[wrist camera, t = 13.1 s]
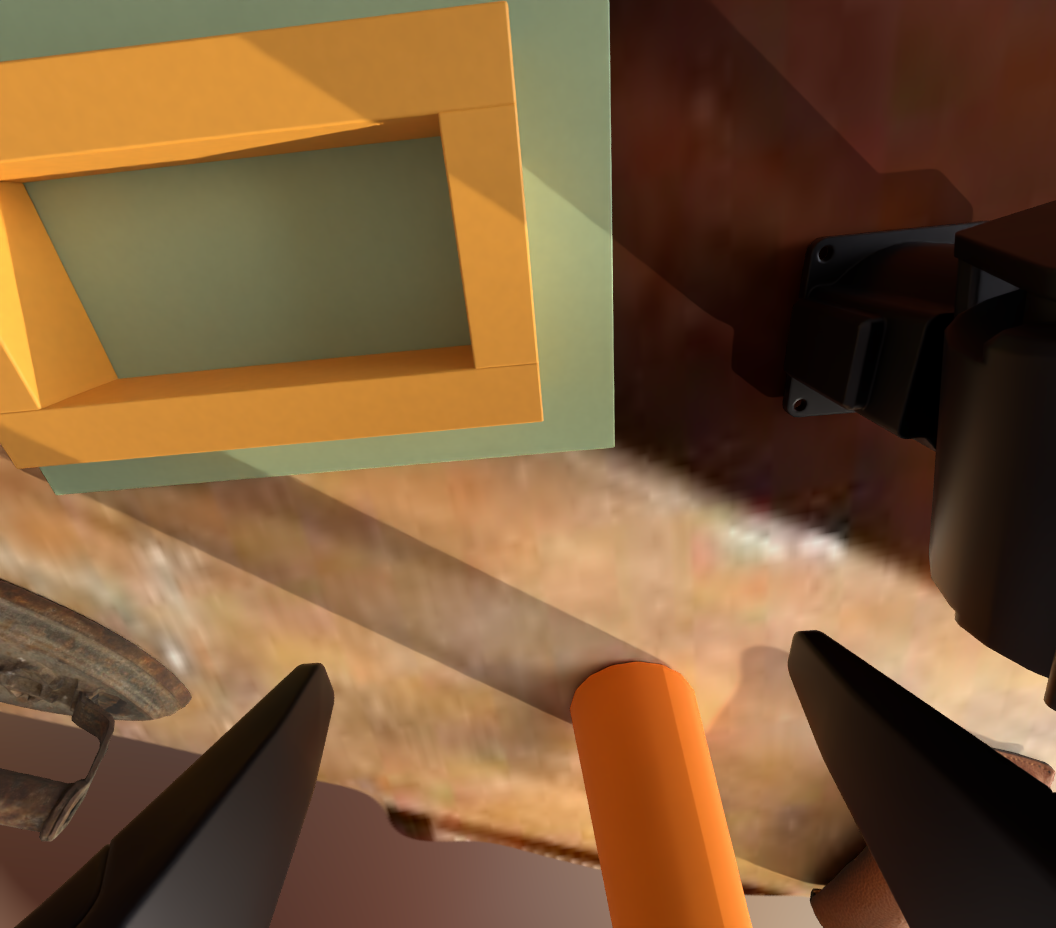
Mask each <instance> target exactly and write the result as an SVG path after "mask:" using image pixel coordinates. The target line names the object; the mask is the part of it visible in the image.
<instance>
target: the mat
mask: <svg viewBox="0 0 1056 928" xmlns="http://www.w3.org/2000/svg"><path fill="white" fill-rule="evenodd" d="M497 1H506V2H507V3H508V8H509V20H510V32H511V43H512V55H513V67H514V79H515V90H516V103H517V114H518V126H519V137H520V149H521V161H522V173H523V185H524V196H525V208H526V220H527V232H528V243H529V255H530V267H531V279H532V290H533V302H534V314H535V326H536V337H537V349H538V361H539V373H540V384H541V396H542V408H543V421H542V422H533V423H522V424H511V425H500V426H489V427H478V428H467V429H455V430H444V431H433V432H422V433H411V434H400V435H389V436H378V437H367V438H356V439H344V440H333V441H322V442H311V443H300V444H289V445H278V446H267V447H256V448H245V449H233V450H222V451H211V452H200V453H189V454H178V455H167V456H156V457H145V458H134V459H122V460H111V461H100V462H89V463H78V464H67V465H56V466H45V467H39V468H40V470H41V471H42V473H43V475H44V476H45V478H46V480H47V481H48V483H49V484H50V486H51V488H52V489H53V491H54V493H55V494H56V495H64V494H75V493H87V492H99V491H110V490H122V489H134V488H145V487H157V486H169V485H180V484H192V483H204V482H215V481H227V480H239V479H250V478H262V477H274V476H285V475H297V474H309V473H320V472H332V471H344V470H355V469H367V468H379V467H390V466H402V465H414V464H425V463H437V462H449V461H460V460H472V459H484V458H495V457H507V456H519V455H530V454H542V453H554V452H566V451H577V450H589V449H601V448H612V447H615V434H614V351H613V269H612V186H611V104H610V21H609V0H0V62H2V61H11V60H19V59H27V58H35V57H43V56H52V55H60V54H68V53H76V52H85V51H93V50H101V49H109V48H118V47H126V46H134V45H142V44H151V43H159V42H167V41H175V40H184V39H192V38H200V37H208V36H216V35H225V34H233V33H241V32H249V31H258V30H266V29H274V28H282V27H291V26H299V25H307V24H315V23H324V22H332V21H340V20H348V19H357V18H365V17H373V16H381V15H389V14H398V13H406V12H414V11H422V10H431V9H439V8H447V7H455V6H464V5H472V4H480V3H488V2H497ZM23 184H24V186H25V188H26V190H27V192H28V194H29V197H30V199H31V201H32V203H33V205H34V207H35V209H36V211H37V213H38V215H39V217H40V219H41V221H42V223H43V225H44V227H45V229H46V231H47V233H48V235H49V237H50V240H51V242H52V244H53V246H54V248H55V250H56V252H57V254H58V256H59V258H60V260H61V262H62V264H63V266H64V268H65V270H66V272H67V274H68V276H69V278H70V281H71V283H72V285H73V287H74V289H75V291H76V293H77V295H78V297H79V299H80V301H81V303H82V305H83V307H84V309H85V311H86V313H87V315H88V317H89V319H90V321H91V324H92V326H93V328H94V330H95V332H96V334H97V336H98V338H99V340H100V342H101V344H102V346H103V348H104V350H105V352H106V354H107V356H108V358H109V360H110V362H111V365H112V367H113V369H114V371H115V373H116V375H117V377H118V379H121V378H131V377H142V376H152V375H162V374H173V373H183V372H193V371H204V370H214V369H225V368H235V367H245V366H256V365H266V364H277V363H287V362H297V361H308V360H318V359H329V358H339V357H349V356H360V355H370V354H381V353H391V352H401V351H412V350H422V349H432V348H443V347H453V346H464V345H471V340H470V333H469V326H468V319H467V313H466V306H465V299H464V292H463V285H462V278H461V272H460V265H459V258H458V251H457V244H456V237H455V230H454V224H453V217H452V210H451V203H450V196H449V189H448V183H447V176H446V169H445V162H444V155H443V148H442V142H441V136H436V137H427V138H419V139H410V140H401V141H392V142H383V143H374V144H365V145H356V146H347V147H338V148H329V149H320V150H311V151H302V152H293V153H285V154H276V155H267V156H258V157H249V158H240V159H231V160H222V161H213V162H204V163H195V164H186V165H177V166H168V167H159V168H150V169H142V170H133V171H124V172H115V173H106V174H97V175H88V176H79V177H70V178H61V179H52V180H43V181H34V182H25V183H23Z"/></svg>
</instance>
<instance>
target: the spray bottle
mask: <svg viewBox="0 0 1056 928" xmlns="http://www.w3.org/2000/svg"><path fill="white" fill-rule="evenodd" d="M570 713H571V718H572V723H573V728H574V733H575V738H576V743H577V748H578V753H579V759H580V764H581V769H582V774H583V779H584V784H585V789H586V794H587V799H588V804H589V809H590V814H591V820H592V825H593V830H594V835H595V840H596V845H597V850H598V855H599V860H600V865H601V870H602V876H603V880H604V885H605V890H606V896H607V901H608V906H609V911H610V916H611V921H612V926H613V928H752V925H751V921H750V917H749V913H748V909H747V905H746V900H745V896H744V892H743V888H742V884H741V880H740V876H739V872H738V868H737V864H736V860H735V856H734V852H733V848H732V843H731V839H730V835H729V831H728V827H727V823H726V819H725V815H724V811H723V807H722V803H721V799H720V795H719V791H718V787H717V782H716V778H715V774H714V770H713V766H712V762H711V758H710V754H709V750H708V746H707V742H706V738H705V734H704V730H703V726H702V722H701V717H700V713H699V709H698V705H697V701H696V697H695V693H694V690H693V689H692V687H691V686H690V685H689V684H688V682H687V681H686V680H685V679H684V677H683V676H682V675H681V674H680V673H678V672H676V671H674V670H672V669H670V668H667V667H665V666H663V665H661V664H654V663H646V662H637V661H636V662H630V663H624V664H617V665H612V666H609V667H607V668H605V669H603V670H601V671H599V672H597V673H595V674H592V675H590V676H589V677H588V678H587V679H586V680H585V681H584V682H583V683H582V684H581V685H580V686H579V687H578V688H577V689H576V691H575V694H574V697H573V700H572V703H571V706H570Z"/></svg>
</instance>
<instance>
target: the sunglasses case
mask: <svg viewBox="0 0 1056 928" xmlns="http://www.w3.org/2000/svg"><path fill="white" fill-rule="evenodd" d="M993 749H994V750H996V751H997V752H998V753H1000V754H1001V755H1003V756H1004V757H1006V758H1007V759H1009V760H1010V761H1012V762H1013V763H1015V764H1016V765H1017V766H1019V767H1020V768H1022V769H1023V770H1025V771H1026V772H1028V773H1029V774H1031V775H1032V776H1034V777H1035V778H1037V779H1038V780H1039V781H1041V782H1042V783H1044V784H1045V785H1047V786H1048V787H1050V786H1051V784H1052V781H1053V780H1054V775H1055V771H1054V770H1053V769H1052V767H1051V766H1050V765H1048V764H1047V763H1045V762H1043V761H1039V760H1036V759H1032V758H1029V757H1026V756H1023V755H1020V754H1016V753H1012V752H1008V751H1004V750H1000V749H995V748H993ZM810 903H811V906H812V908H813V911H814V913H815V916H816V917H817V919H818V921H819V922H820V924H821V925H822V926H823V928H909V926H908V924H907V922H906V920H905V918H904V916H903V914H902V912H901V910H900V908H899V906H898V904H897V902H896V900H895V898H894V896H893V895H892V893H891V891H890V889H889V887H888V885H887V883H886V881H885V879H884V877H883V875H882V873H881V871H880V869H879V867H878V865H877V863H876V861H875V859H874V857H873V856H872V854H871V852H870V850H869V848H868V846H866V847H865V848H864V849H863V850H862V852H861V853H860V854H859V855H858V856H857V858H856V859H854V860H852V861H851V862H849V863H848V864H847V865H846V866H845V867H844V868H843V869H842V870H841V871H840V872H839V873H838V874H837V875H836V876H835V877H834V878H833V879H832V880H831V881H830V882H829V883H828V884H827V885H826V886H825V887H824V888H823V889H813V890H812V891H811V896H810Z"/></svg>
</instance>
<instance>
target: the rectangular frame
mask: <svg viewBox="0 0 1056 928" xmlns="http://www.w3.org/2000/svg"><path fill="white" fill-rule="evenodd" d="M436 136H441V142H442V148H443V155H444V162H445V169H446V176H447V183H448V189H449V196H450V203H451V210H452V217H453V224H454V230H455V237H456V244H457V251H458V258H459V265H460V272H461V278H462V285H463V292H464V299H465V306H466V313H467V319H468V326H469V333H470V340H471V345H464V346H453V347H443V348H432V349H422V350H412V351H401V352H391V353H381V354H370V355H360V356H349V357H339V358H329V359H318V360H308V361H297V362H287V363H277V364H266V365H256V366H245V367H235V368H225V369H214V370H204V371H193V372H183V373H173V374H162V375H152V376H142V377H131V378H121V379H118V377H117V375H116V373H115V371H114V369H113V367H112V365H111V362H110V360H109V358H108V356H107V354H106V352H105V350H104V348H103V346H102V344H101V342H100V340H99V338H98V336H97V334H96V332H95V330H94V328H93V326H92V324H91V321H90V319H89V317H88V315H87V313H86V311H85V309H84V307H83V305H82V303H81V301H80V299H79V297H78V295H77V293H76V291H75V289H74V287H73V285H72V283H71V281H70V278H69V276H68V274H67V272H66V270H65V268H64V266H63V264H62V262H61V260H60V258H59V256H58V254H57V252H56V250H55V248H54V246H53V244H52V242H51V240H50V237H49V235H48V233H47V231H46V229H45V227H44V225H43V223H42V221H41V219H40V217H39V215H38V213H37V211H36V209H35V207H34V205H33V203H32V201H31V199H30V197H29V194H28V192H27V190H26V188H25V186H24V184H23V183H25V182H34V181H43V180H52V179H61V178H70V177H79V176H88V175H97V174H106V173H115V172H124V171H133V170H142V169H150V168H159V167H168V166H177V165H186V164H195V163H204V162H213V161H222V160H231V159H240V158H249V157H258V156H267V155H276V154H285V153H293V152H302V151H311V150H320V149H329V148H338V147H347V146H356V145H365V144H374V143H383V142H392V141H401V140H410V139H419V138H427V137H436ZM542 421H543V408H542V396H541V384H540V373H539V361H538V349H537V337H536V326H535V314H534V302H533V290H532V279H531V267H530V255H529V243H528V232H527V220H526V208H525V196H524V185H523V173H522V161H521V149H520V137H519V126H518V114H517V103H516V90H515V79H514V67H513V55H512V43H511V32H510V20H509V8H508V3H507V2H506V1H497V2H488V3H480V4H472V5H464V6H455V7H447V8H439V9H431V10H422V11H414V12H406V13H398V14H389V15H381V16H373V17H365V18H357V19H348V20H340V21H332V22H324V23H315V24H307V25H299V26H291V27H282V28H274V29H266V30H258V31H249V32H241V33H233V34H225V35H216V36H208V37H200V38H192V39H184V40H175V41H167V42H159V43H151V44H142V45H134V46H126V47H118V48H109V49H101V50H93V51H85V52H76V53H68V54H60V55H52V56H43V57H35V58H27V59H19V60H11V61H2V62H0V443H1V445H2V447H3V448H4V450H5V451H6V453H7V454H8V456H9V457H10V459H11V461H12V462H13V464H14V465H15V467H16V468H17V469H22V468H34V467H45V466H56V465H67V464H78V463H89V462H100V461H111V460H122V459H134V458H145V457H156V456H167V455H178V454H189V453H200V452H211V451H222V450H233V449H245V448H256V447H267V446H278V445H289V444H300V443H311V442H322V441H333V440H344V439H356V438H367V437H378V436H389V435H400V434H411V433H422V432H433V431H444V430H455V429H467V428H478V427H489V426H500V425H511V424H522V423H533V422H542Z"/></svg>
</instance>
